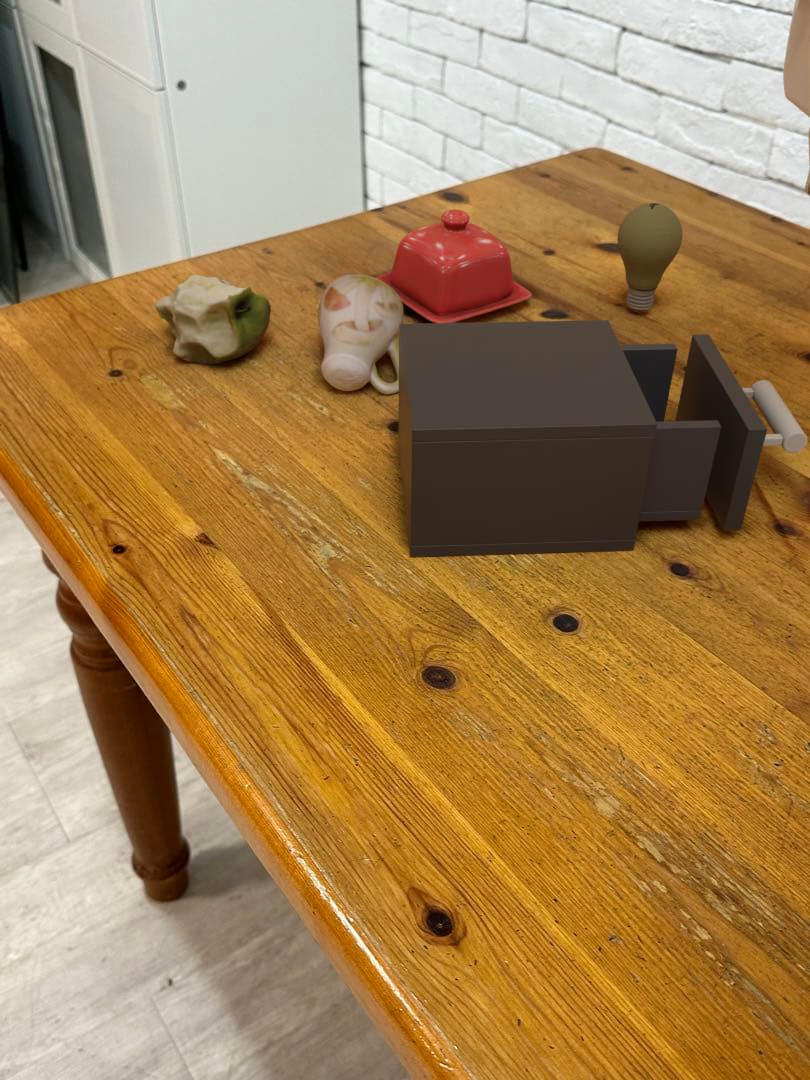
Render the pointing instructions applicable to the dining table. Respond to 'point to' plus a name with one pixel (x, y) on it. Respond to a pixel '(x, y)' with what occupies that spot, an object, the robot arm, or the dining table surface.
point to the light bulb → (647, 250)
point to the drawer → (706, 433)
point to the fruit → (214, 319)
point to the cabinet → (520, 438)
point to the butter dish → (453, 271)
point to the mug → (359, 331)
